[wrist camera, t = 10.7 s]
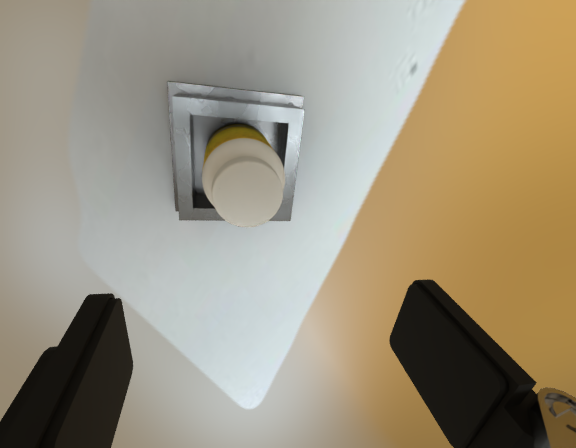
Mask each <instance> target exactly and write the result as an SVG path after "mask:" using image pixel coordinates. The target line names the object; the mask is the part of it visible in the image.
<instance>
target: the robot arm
mask: <svg viewBox="0 0 576 448" xmlns="http://www.w3.org/2000/svg"><path fill="white" fill-rule="evenodd" d="M390 345H391V348H392V350H393V351H394V353H395V354H396V356H397V358H398V359H399V361H400V363H401V364H402V366H403V368H404V369H405V371H406V373H407V374H408V376H409V377H410V379H411V381H412V382H413V384H414V386H415V387H416V389H417V390H418V392H419V394H420V395H421V397H422V399H423V400H424V402H425V404H426V405H427V407H428V408H429V410H430V412H431V413H432V415H433V417H434V418H435V420H436V421H437V423H438V425H439V426H440V428H441V430H442V431H443V433H444V435H445V436H446V438H447V439H448V441H449V443H450V444H451V445H452V446H453V447H454V448H576V398H575V397H573V396H571V395H569V394H567V393H566V392H564V391H560V390H558V389H555V388H543V389H540V390H539V392H538V393H537V394H536V393H535V392H534V391H533V390H532V388H533V387H534V385H535V384H536V382H535V381H534V380H533V379H532V378H531V377H530V376H529V375H528V374H527V373H526V372H525V371H524V370H523V369H522V368H521V367H520V366H519V365H518V364H517V363H516V362H515V361H514V360H513V359H512V358H511V357H510V356H509V355H508V354H507V353H506V352H505V351H504V350H503V349H502V348H501V347H500V346H499V345H498V344H497V343H496V342H495V341H494V340H493V339H492V338H491V337H490V336H489V335H488V334H487V333H486V332H485V331H484V330H483V329H482V328H481V327H480V326H479V325H478V324H477V323H476V322H475V321H474V320H473V319H472V318H471V317H470V316H469V315H468V314H467V313H466V312H465V311H464V310H463V309H462V308H461V307H460V306H459V305H457V303H456V302H455V301H454V300H453V299H452V298H451V297H450V296H449V295H448V294H447V293H446V292H445V291H444V290H443V289H442V288H441V287H440V286H439V285H438V284H437V283H436V282H435V281H433V280H415V281H414V282H413V283H412V285H410V286H409V288H408V291H407V293H406V296H405V298H404V301H403V304H402V306H401V309H400V312H399V314H398V317H397V320H396V322H395V325H394V327H393V330H392V333H391V335H390ZM132 370H133V360H132V355H131V349H130V344H129V338H128V333H127V328H126V322H125V317H124V311H123V306H122V301H121V299H120V298H118V299H117V298H116V299H115V298H114V295H113V294H90V295H88V296H87V297H86V298H85V300H84V302H83V304H82V305H81V307H80V309H79V311H78V312H77V314H76V316H75V317H74V319H73V321H72V322H71V324H70V326H69V328H68V329H67V331H66V333H65V334H64V336H63V338H62V340H61V342H60V343H59V345H58V346H57V347H50V348H48V349H47V350H46V351H44V353H43V354H42V355H41V357H40V358H39V360H38V362H37V363H36V365H35V366H34V368H33V370H32V371H31V373H30V374H29V376H28V378H27V379H26V381H25V382H24V384H23V386H22V387H21V389H20V391H19V392H18V394H17V396H16V397H15V399H14V400H13V402H12V403H11V405H10V407H9V408H8V410H7V412H6V413H5V415H4V416H3V418H2V420H1V421H0V448H111V445H112V442H113V438H114V435H115V431H116V428H117V424H118V421H119V417H120V414H121V410H122V407H123V403H124V400H125V396H126V393H127V389H128V386H129V382H130V379H131V375H132Z"/></svg>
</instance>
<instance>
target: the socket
mask: <svg viewBox="0 0 576 448" xmlns="http://www.w3.org/2000/svg"><path fill="white" fill-rule="evenodd" d="M167 84H168V100H169V115H170V131H171V146H172V162H173V177H174V193H175V208H176V211H179V220H220V221H226V220H224V219H223V218H222V217H221V216H220V215H219V214H218V212H217V211H216V209H215V207H214V206H213V205H212V204H211V202H210V201H209V200H208V198H207V196H206V194H205V192H204V188H203V184H202V170H203V164H204V157H205V150H206V146H207V143H208V141H209V139H210V137H211V136H212V134H213V133H214V132H215V131H216V130H217V129H219V128H220V127H222V126H224V125H226V124H230V123H245V124H248V125H251V126H253V127H255V128H256V129H257V130H259V131H260V132H261V133H262V134H263V135H264V137H265V138H266V139H267V141H268V142H269V144H270V145H271V147H272V148H273V150H274V151H275V152H276V154H277V155H278V157H279V158H280V160H281V162H282V165H283V168H284V172H285V186H284V190H283V199H282V203H281V205H280V208H279V209H278V211H277V213H276V214H275V215H274V216H273V217H272V218H271V219H270V220H268V221H290V220H291V212H292V204H293V197H294V189H295V181H296V173H297V165H298V157H299V150H300V142H301V134H302V126H303V118H304V109H302V107H303V99H304V97H303V96H295V95H286V94H277V93H268V92H259V91H250V90H242V89H233V88H224V87H215V86H206V85H197V84H188V83H179V82H170V81H168V82H167Z"/></svg>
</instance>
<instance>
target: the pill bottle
mask: <svg viewBox="0 0 576 448" xmlns="http://www.w3.org/2000/svg"><path fill="white" fill-rule="evenodd" d="M202 184H203V188H204V192H205V194H206V196H207V198H208V200H209V201H210V202H211V204H212V205H213V206H214V207H215V209H216V211H217V212H218V214H219V215H220V216H221V217H222V218H223V219H224V220H226V221H227V222H229V223H231V224H233V225H236V226H240V227H254V226H258V225H261V224H263V223H265V222H267V221H268V220H270V219H271V218H272V217H273V216H274V215H275V214H276V213H277V211H278V209H279V208H280V205H281V203H282V199H283V190H284V186H285V172H284V168H283V165H282V162H281V160H280V158H279V157H278V155H277V154H276V152H275V151H274V150H273V148H272V147H271V145H270V144H269V142H268V141H267V139H266V138H265V137H264V135H263V134H262V133H261V132H260V131H259V130H257V129H256V128H255V127H253V126H251V125H248V124H245V123H230V124H226V125H224V126H222V127H220V128H219V129H217V130H216V131H215V132H214V133H213V134H212V136H211V137H210V139H209V141H208V143H207V146H206V150H205V157H204V164H203V170H202Z"/></svg>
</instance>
